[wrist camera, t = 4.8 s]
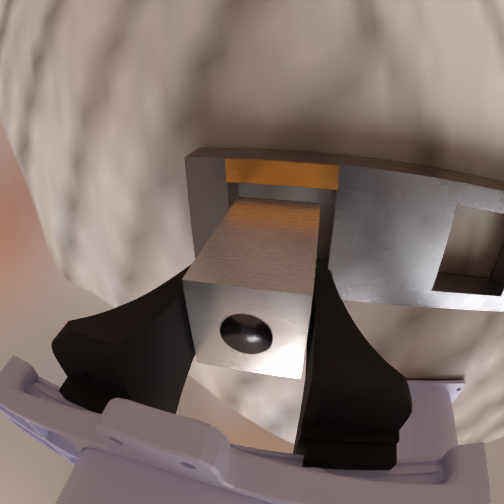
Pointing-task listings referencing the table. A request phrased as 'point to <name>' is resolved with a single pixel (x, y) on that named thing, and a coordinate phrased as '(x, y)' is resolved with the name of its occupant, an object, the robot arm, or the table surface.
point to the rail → (363, 220)
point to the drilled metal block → (255, 287)
